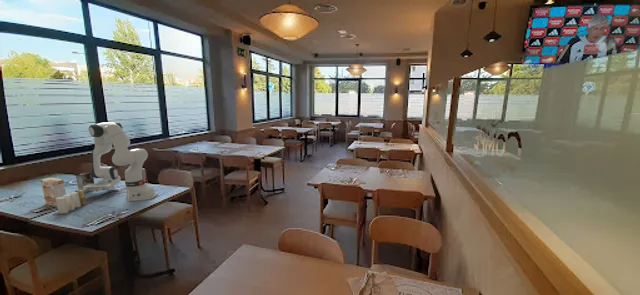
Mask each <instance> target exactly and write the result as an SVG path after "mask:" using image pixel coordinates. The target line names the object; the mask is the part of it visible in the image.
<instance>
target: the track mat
mask: <svg viewBox="0 0 640 295" xmlns="http://www.w3.org/2000/svg"><path fill="white" fill-rule="evenodd" d="M102 198H103V196H90V197H87V198H85V199H86V204H84V205H81V206H80V207H75V209H74V210H69V212H68V213H59V212H55V213H53V214H52V216H68V215H70V214H71V213H74V212H75V211H78V210H79V209H82V208H84V207H86V206H88V205H89V204H92V203H94V202H96V201H98V200H101V199H102Z"/></svg>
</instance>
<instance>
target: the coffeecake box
mask: <svg viewBox="0 0 640 295" xmlns="http://www.w3.org/2000/svg"><path fill="white" fill-rule="evenodd" d="M40 182H41V188H42V193H43V197H44V202H45V205H49V206H54V207H57V202H56V198H59V197H63V195H67V191H66V187H65V182H64V179H63V178H57V177H47V178H43V179H40Z"/></svg>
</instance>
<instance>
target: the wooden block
mask: <svg viewBox="0 0 640 295" xmlns="http://www.w3.org/2000/svg"><path fill="white" fill-rule="evenodd" d="M74 192H78V194H79V199H80V205H84V204H86V199H87V198H86V193H84V190H79V189H76V190H74Z"/></svg>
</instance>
